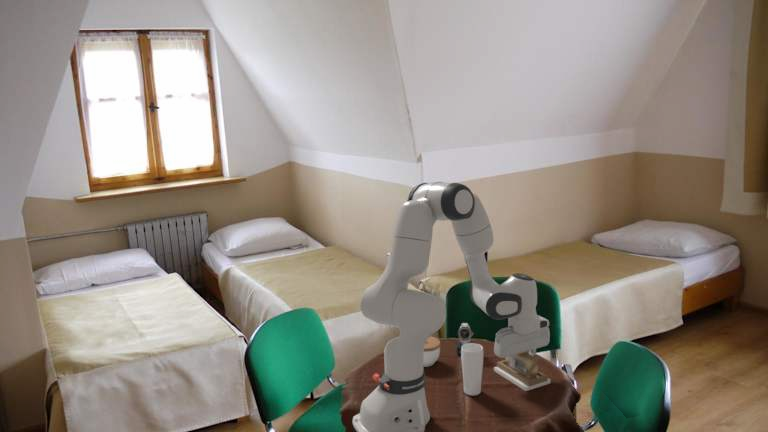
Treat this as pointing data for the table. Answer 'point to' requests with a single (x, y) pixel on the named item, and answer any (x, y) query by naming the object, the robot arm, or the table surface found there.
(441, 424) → the table surface
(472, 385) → the drinking glass
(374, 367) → the table surface
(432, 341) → the lidded jar
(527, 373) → the cardboard box
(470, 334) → the watch
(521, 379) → the small wooden cabinet
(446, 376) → the table surface
